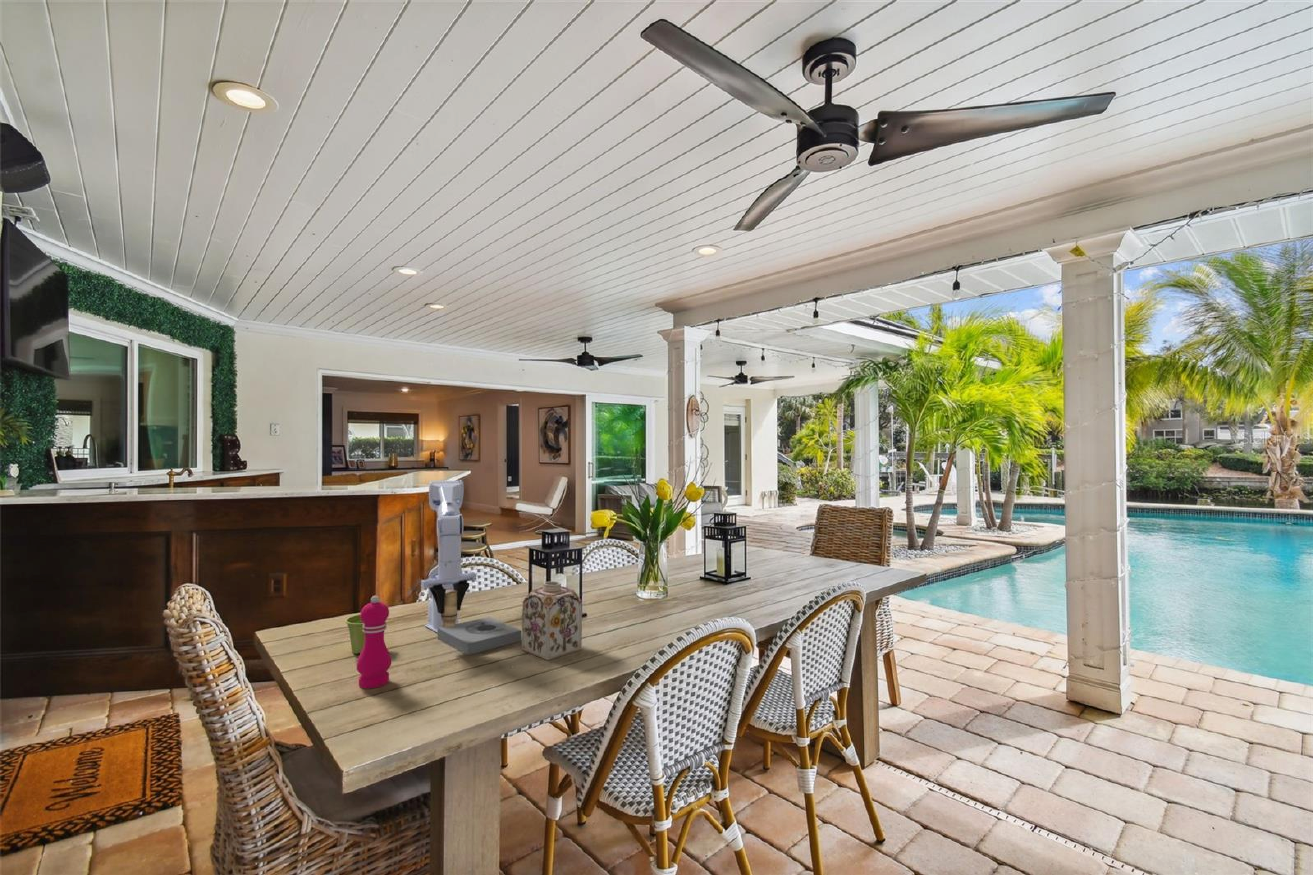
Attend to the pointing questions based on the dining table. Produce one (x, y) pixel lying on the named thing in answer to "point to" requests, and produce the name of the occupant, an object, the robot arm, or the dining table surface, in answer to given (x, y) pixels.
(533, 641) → the decorative jar
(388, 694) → the dining table surface
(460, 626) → the grey peg hole board
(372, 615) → the pepper mill
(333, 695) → the dining table surface
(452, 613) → the oak peg
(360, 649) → the plant pot
